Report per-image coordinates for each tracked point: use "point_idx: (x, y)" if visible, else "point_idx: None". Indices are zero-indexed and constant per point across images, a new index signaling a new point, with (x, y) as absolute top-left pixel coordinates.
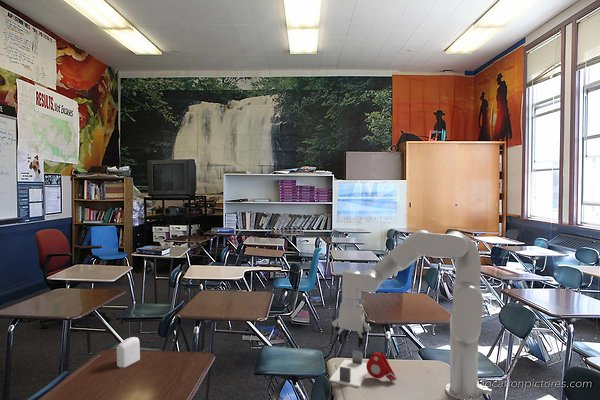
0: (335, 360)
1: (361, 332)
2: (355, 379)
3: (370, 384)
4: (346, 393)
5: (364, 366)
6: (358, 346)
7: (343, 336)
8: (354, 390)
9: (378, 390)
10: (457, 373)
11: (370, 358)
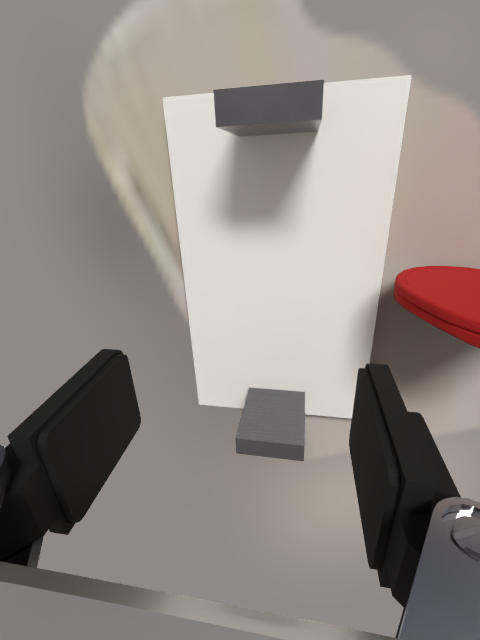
0: (102, 109)
1: (454, 600)
2: (326, 367)
3: (415, 351)
4: (308, 453)
5: (350, 161)
6: (352, 450)
7: (87, 405)
8: (337, 425)
9: (467, 396)
10: None
11: (462, 338)
